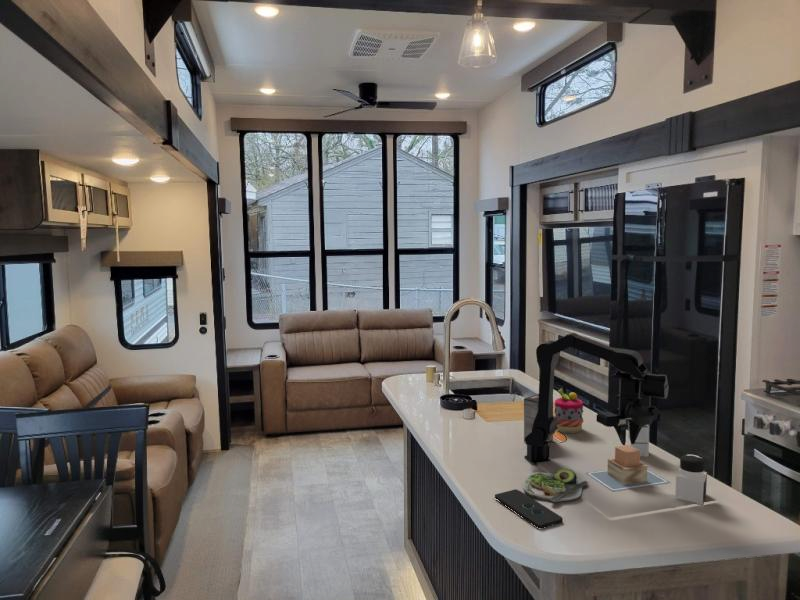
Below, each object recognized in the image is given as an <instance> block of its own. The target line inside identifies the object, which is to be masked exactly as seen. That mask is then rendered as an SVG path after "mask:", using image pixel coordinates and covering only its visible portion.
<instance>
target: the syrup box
mask: <svg viewBox="0 0 800 600" xmlns="http://www.w3.org/2000/svg"><path fill="white" fill-rule="evenodd" d="M627 433H628V438H627V439H628V442H627V443H628V444H627V445H630V446H632V447H634V448H636V449H638V450H640V457H647V458H648V457H649V449H650V447H649V446H650V425H645V426H644V427H642V428H641V430H640V432H639V434H638V437H637V439H636V441H635V443H634V444H631V441H630V431H629V430H628V432H627Z"/></svg>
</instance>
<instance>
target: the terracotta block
mask: <svg viewBox="0 0 800 600" xmlns="http://www.w3.org/2000/svg"><path fill="white" fill-rule="evenodd" d="M614 449H615V450H614V458H615V462H616V463H618V464H619V465H621V466H623V467H624V468H627V467H634V466H640V462H641V456H640V450H638V449H636V448H634V447H632V446H630V445H628V444H627V445H621V446H615V448H614Z"/></svg>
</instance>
